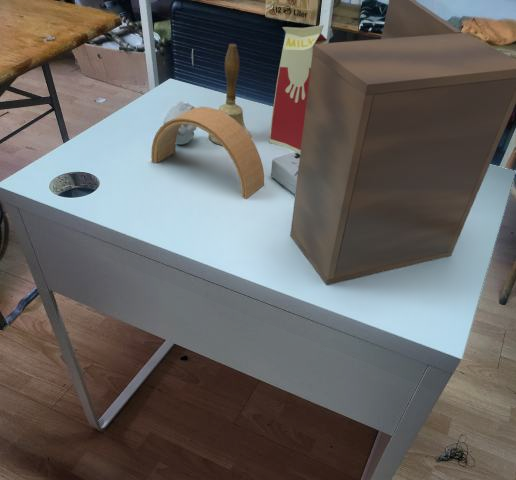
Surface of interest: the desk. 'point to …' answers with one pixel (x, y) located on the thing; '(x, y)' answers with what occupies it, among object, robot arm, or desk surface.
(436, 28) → the cupboard door
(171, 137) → the arch
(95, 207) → the desk surface
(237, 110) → the hand bell
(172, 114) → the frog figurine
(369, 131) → the cupboard
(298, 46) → the milk carton
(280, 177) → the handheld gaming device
